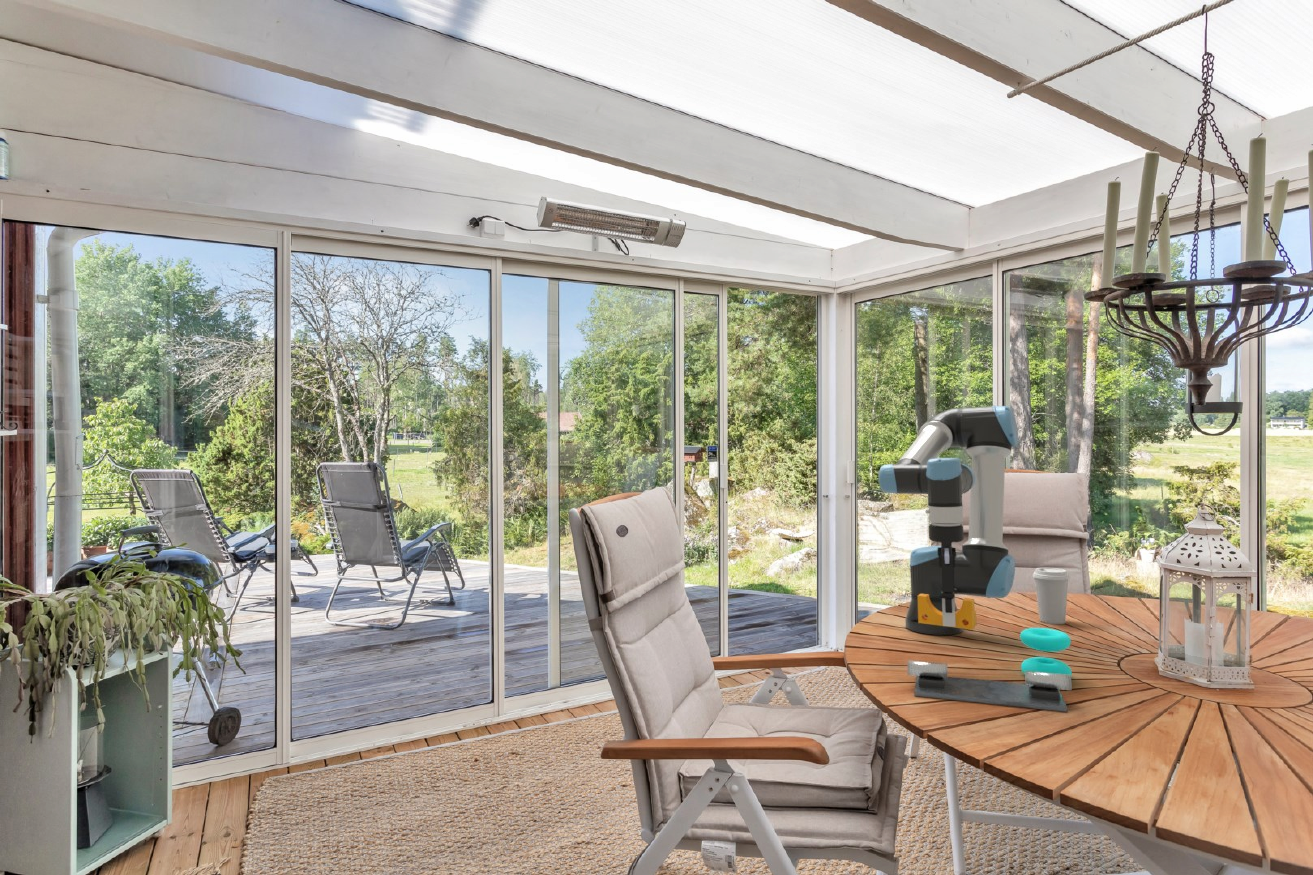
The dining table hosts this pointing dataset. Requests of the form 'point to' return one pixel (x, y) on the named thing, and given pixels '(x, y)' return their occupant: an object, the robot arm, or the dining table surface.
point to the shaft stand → (991, 688)
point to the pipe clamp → (935, 617)
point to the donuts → (1045, 642)
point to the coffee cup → (1051, 594)
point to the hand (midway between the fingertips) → (949, 622)
